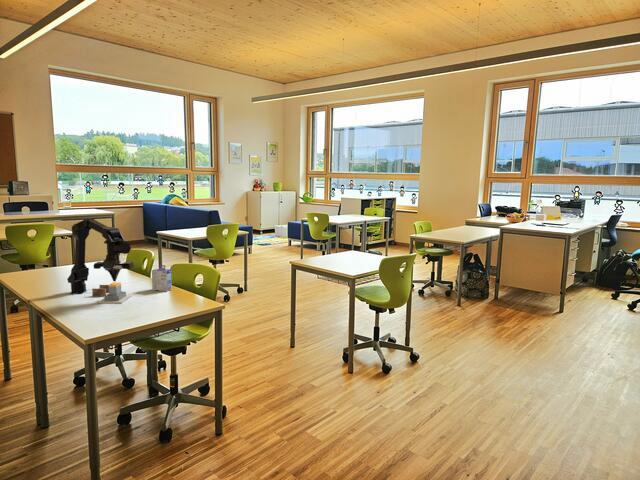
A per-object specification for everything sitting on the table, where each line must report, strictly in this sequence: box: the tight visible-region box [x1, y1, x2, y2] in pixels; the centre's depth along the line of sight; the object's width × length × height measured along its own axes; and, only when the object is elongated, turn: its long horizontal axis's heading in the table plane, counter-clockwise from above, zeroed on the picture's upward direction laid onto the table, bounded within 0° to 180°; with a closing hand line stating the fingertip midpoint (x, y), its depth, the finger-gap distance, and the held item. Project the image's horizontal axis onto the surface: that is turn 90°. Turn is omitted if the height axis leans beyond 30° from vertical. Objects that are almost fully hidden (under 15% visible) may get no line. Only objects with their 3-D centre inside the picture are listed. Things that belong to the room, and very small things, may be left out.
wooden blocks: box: [91, 284, 110, 297], centre depth 247 cm, size 7×10×4 cm
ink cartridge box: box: [151, 264, 173, 292], centre depth 256 cm, size 10×6×14 cm, turn 78°
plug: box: [108, 281, 123, 296], centre depth 235 cm, size 4×6×8 cm, turn 2°
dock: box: [97, 291, 133, 305], centre depth 235 cm, size 12×14×3 cm
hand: (114, 281), depth 234 cm, fingers closed
